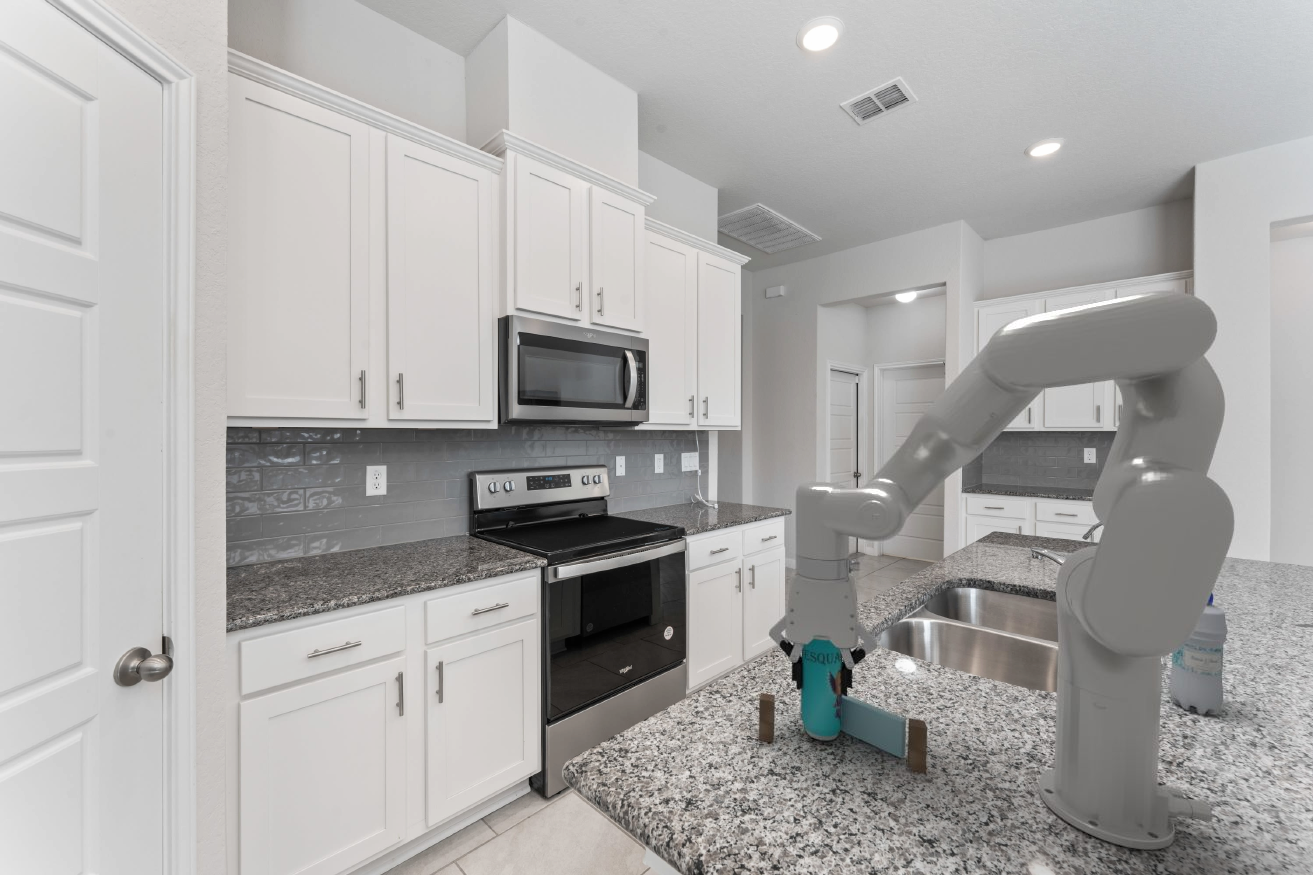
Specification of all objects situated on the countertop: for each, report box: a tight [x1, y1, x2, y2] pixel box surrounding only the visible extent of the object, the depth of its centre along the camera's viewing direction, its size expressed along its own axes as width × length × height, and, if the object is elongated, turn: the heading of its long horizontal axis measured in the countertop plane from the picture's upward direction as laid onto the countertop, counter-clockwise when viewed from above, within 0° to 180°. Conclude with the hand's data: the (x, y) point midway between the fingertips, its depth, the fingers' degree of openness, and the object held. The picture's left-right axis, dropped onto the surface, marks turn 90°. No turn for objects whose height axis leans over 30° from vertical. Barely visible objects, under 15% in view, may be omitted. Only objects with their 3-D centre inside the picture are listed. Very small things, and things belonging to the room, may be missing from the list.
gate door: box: [799, 689, 907, 759], centre depth 81 cm, size 16×1×5 cm, turn 42°
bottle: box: [1168, 592, 1229, 716], centre depth 90 cm, size 7×7×20 cm
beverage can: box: [801, 636, 843, 741], centre depth 81 cm, size 6×6×15 cm
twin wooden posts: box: [758, 692, 928, 774], centre depth 77 cm, size 22×2×6 cm, turn 72°
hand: (821, 687), depth 81 cm, fingers closed on beverage can, 5 cm apart
